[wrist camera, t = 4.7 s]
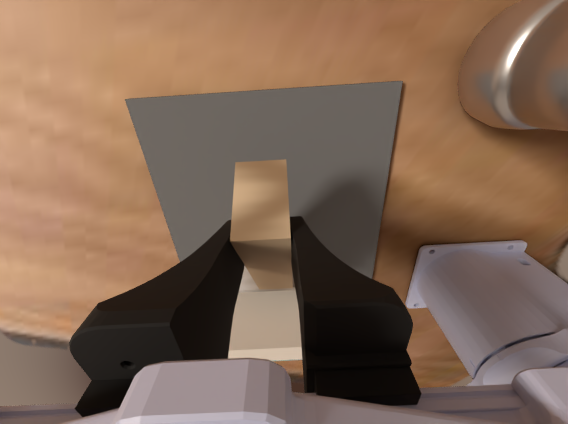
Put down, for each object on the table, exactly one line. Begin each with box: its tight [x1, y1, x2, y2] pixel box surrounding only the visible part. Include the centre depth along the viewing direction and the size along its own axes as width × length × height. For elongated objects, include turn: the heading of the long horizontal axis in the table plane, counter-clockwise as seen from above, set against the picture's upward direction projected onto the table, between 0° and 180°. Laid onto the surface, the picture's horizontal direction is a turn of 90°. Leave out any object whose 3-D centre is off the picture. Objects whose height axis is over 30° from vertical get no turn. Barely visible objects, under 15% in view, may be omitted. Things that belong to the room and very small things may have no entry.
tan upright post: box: [230, 159, 295, 293], centre depth 15 cm, size 6×10×4 cm
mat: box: [125, 81, 403, 279], centre depth 22 cm, size 18×25×1 cm
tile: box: [228, 290, 302, 361], centre depth 20 cm, size 7×2×8 cm, turn 93°
